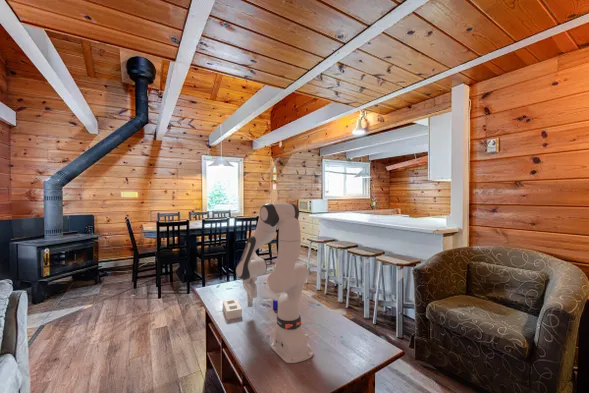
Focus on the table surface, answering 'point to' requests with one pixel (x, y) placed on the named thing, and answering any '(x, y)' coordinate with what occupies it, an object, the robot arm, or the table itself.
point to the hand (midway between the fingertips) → (250, 300)
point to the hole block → (232, 309)
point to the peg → (249, 302)
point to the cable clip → (275, 304)
